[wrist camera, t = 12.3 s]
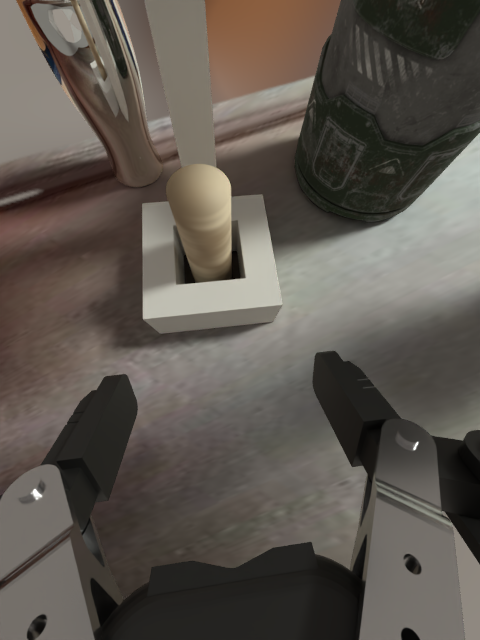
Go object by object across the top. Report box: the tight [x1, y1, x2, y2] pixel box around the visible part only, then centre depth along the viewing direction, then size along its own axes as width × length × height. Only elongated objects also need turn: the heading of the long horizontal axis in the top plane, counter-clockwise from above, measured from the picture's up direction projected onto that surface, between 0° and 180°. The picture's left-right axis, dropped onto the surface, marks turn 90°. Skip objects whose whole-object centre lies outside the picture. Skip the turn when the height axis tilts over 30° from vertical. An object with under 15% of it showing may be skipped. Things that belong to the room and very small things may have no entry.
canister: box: [295, 0, 480, 222], centre depth 18 cm, size 16×16×28 cm
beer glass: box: [16, 0, 163, 187], centre depth 23 cm, size 7×7×15 cm
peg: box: [166, 164, 232, 283], centre depth 21 cm, size 4×4×12 cm
